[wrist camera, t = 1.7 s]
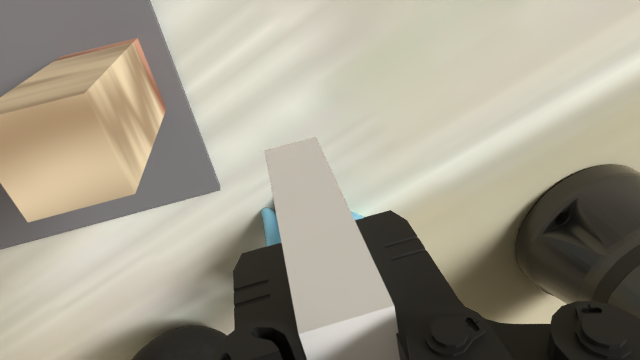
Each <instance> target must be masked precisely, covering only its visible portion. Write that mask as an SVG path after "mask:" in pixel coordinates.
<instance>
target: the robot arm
mask: <svg viewBox="0 0 640 360" xmlns="http://www.w3.org/2000/svg"><path fill="white" fill-rule="evenodd" d="M265 157H266V162H267V167H268V173H269V178H270V183H271V189H272V194H273V200H274V205H275V210H276V216H277V221H278V226H279V232H280V237H281V243H278V244H274V245H271V246H267V247H264V248H260V249H257V250H253V251H249V252H246V253H242V255H241V257H240V259H239V261H238V263H237V265H236V267H235V269H234V271H233V276H234V292H235V293H234V305H235V308H234V319H235V330H234V331H233V332H232V333H230V334H229V335H228V336H227V337H226V338H225V339H223V340H222V341H221V343H220V344H219V346H218V347H217V349H216V350H215V352H214V353H213V355H212V356H211V360H640V173H639V172H637V171H635V170H634V169H632V168H629V167H626V166H623V165H614V164H610V165H600V166H595V167H591V168H588V169H585V170H583V171H580V172H578V173H576V174H574V175H572V176H570V177H568V178H566V179H565V180H563V181H562V182H560V183H559V184H557V185H556V186H554V187H553V188H552V189H551V190H549V191H548V192H547V193H546V194H545V195H544V196H543V197H542V198H541V199H540V200H539V201H538V202H537V203H536V204H535V206H534V207H533V208H532V209H531V211H530V212H529V214H528V215H527V217H526V218H525V220H524V222H523V224H522V226H521V228H520V231H519V234H518V237H517V241H516V259H517V262H518V265H519V267H520V268H521V270H522V271H523V272H524V273H525V274H526V276H527V277H528V278H529V279H530V280H531V281H532V282H533V283H534V284H535V285H536V286H537V287H538V288H540V289H541V290H542V291H544V292H546V293H548V294H551V295H553V296H555V297H557V298H558V299H560V300H562V301H563V302H565V303H567V305H564V306H562V307H561V308H560V309H559V310H558V311H557V312H556V313H555V314H554V315H553V316H552V320H551V324H506V323H498V322H494V321H490V320H487V319H484V318H482V317H481V316H480V315H479V314H478V313H477V312H475V311H473V310H471V309H469V308H466V307H465V306H464V305H463V304H462V303H461V301H460V300H459V299H458V298H457V296H456V295H455V293H454V292H453V290H452V289H451V287H450V286H449V284H448V282H447V281H446V279H445V278H444V276H443V275H442V273H441V272H440V270H439V269H438V267H437V266H436V264H435V263H434V261H433V260H432V258H431V256H430V255H429V253H428V252H427V251H426V250H425V247H424V246H423V244H422V243H421V241H420V240H419V238H417V235H416V233H415V232H414V230H413V229H412V227H411V226H410V224H409V223H408V221H407V220H405V219H404V218H402V217H401V216H399V215H397V214H396V213H394V212H392V211H391V210H390V211H386V212H383V213H379V214H375V215H372V216H368V217H365V218H361V219H358V220H354V218H353V216H352V213H351V211H350V209H349V207H348V205H347V203H346V201H345V198H344V196H343V194H342V192H341V190H340V188H339V185H338V183H337V181H336V179H335V177H334V175H333V173H332V170H331V168H330V166H329V164H328V162H327V160H326V157H325V155H324V153H323V151H322V149H321V147H320V145H319V142H318V140H317V138H316V137H314V138H310V139H306V140H303V141H299V142H295V143H291V144H288V145H284V146H280V147H276V148H273V149H269V150H265Z"/></svg>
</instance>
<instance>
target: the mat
mask: <svg viewBox="0 0 640 360" xmlns="http://www.w3.org/2000/svg"><path fill="white" fill-rule="evenodd" d="M135 38H138V40H139V43H140V45H141V48H142V50H143V53H144V55H145V57H146V60H147V62H148V65H149V67H150V70H151V72H152V75H153V77H154V79H155V82H156V84H157V87H158V89H159V92H160V94H161V97H162V99H163V101H164V104H165V106H166V111H165V114H164V117H163V120H162V122H161V125H160V128H159V130H158V133H157V136H156V139H155V141H154V144H153V147H152V150H151V152H150V155H149V158H148V160H147V163H146V166H145V169H144V171H143V174H142V177H141V180H140V182H139V185H138V188H137V190H136V193H135V194H133V195H129V196H126V197H122V198H118V199H114V200H111V201H107V202H103V203H99V204H96V205H92V206H88V207H84V208H81V209H77V210H73V211H69V212H66V213H62V214H58V215H54V216H51V217H47V218H43V219H39V220H36V221H32V222H27V221H26V219H25V218H24V216H23V215H22V213H21V212H20V210H19V209H18V208H17V206H16V205H15V203H14V202H13V200H12V199H11V197H10V196H9V195H8V193H7V192H6V190H5V189H4V187H3V186H2V184H1V183H0V249H4V248H8V247H11V246H15V245H19V244H23V243H26V242H30V241H34V240H37V239H41V238H45V237H49V236H52V235H56V234H60V233H63V232H67V231H71V230H74V229H78V228H82V227H86V226H89V225H93V224H97V223H100V222H104V221H108V220H111V219H115V218H119V217H123V216H126V215H130V214H134V213H137V212H141V211H145V210H149V209H152V208H156V207H160V206H163V205H167V204H171V203H174V202H178V201H182V200H186V199H189V198H193V197H197V196H200V195H204V194H208V193H211V192H215V191H219V190H220V184H219V182H218V179H217V177H216V174H215V171H214V169H213V166H212V163H211V161H210V158H209V155H208V153H207V150H206V147H205V145H204V142H203V140H202V137H201V134H200V132H199V129H198V126H197V124H196V121H195V118H194V116H193V113H192V110H191V108H190V105H189V102H188V100H187V97H186V95H185V92H184V89H183V87H182V84H181V81H180V79H179V76H178V73H177V71H176V68H175V65H174V63H173V60H172V57H171V55H170V52H169V50H168V47H167V44H166V42H165V39H164V36H163V34H162V31H161V28H160V26H159V23H158V20H157V18H156V15H155V12H154V10H153V7H152V5H151V2H150V0H0V97H1V96H3V95H4V94H6V93H7V92H9V91H10V90H12V89H13V88H15V87H16V86H18V85H19V84H21V83H22V82H24V81H25V80H27V79H28V78H30V77H31V76H33V75H34V74H35V73H37V72H38V71H40V70H41V69H43V68H44V67H46V66H47V65H49V64H50V63H52V62H53V61H55V60H56V59H58V58H59V57H61V56H65V55H69V54H73V53H77V52H81V51H85V50H90V49H94V48H98V47H102V46H106V45H110V44H114V43H118V42H122V41H127V40H131V39H135Z"/></svg>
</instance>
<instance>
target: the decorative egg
mask: <svg viewBox="0 0 640 360" xmlns="http://www.w3.org/2000/svg"><path fill="white" fill-rule="evenodd" d="M226 337H227V335H225V334H224V333H222V332H220V331H218V330H215V329H212V328H208V327H203V326H186V327H181V328H177V329H174V330H171V331H168V332H166V333H164V334H162V335H160V336H158V337H157V338H155V339H154V340H152V341H151V342H149V343H148V344H147V345H146V346H145V347H143V348H142V349H141V350H140V351H139V352H138V353H137V354H136V355H135V356H134V358H133V359H132V360H211V356H212V355H213V353H214V352H215V350H216V349H217V347H218V346H219V344H220V343H221V341H222V340H223V339H225V338H226Z"/></svg>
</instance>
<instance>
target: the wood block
mask: <svg viewBox="0 0 640 360" xmlns="http://www.w3.org/2000/svg"><path fill="white" fill-rule="evenodd" d="M165 111H166V106H165V104H164V101H163V99H162V97H161V94H160V92H159V89H158V87H157V84H156V82H155V79H154V77H153V75H152V72H151V70H150V67H149V65H148V62H147V60H146V57H145V55H144V53H143V50H142V48H141V45H140V43H139V40H138V38H135V39H131V40H127V41H122V42H118V43H114V44H110V45H106V46H102V47H98V48H94V49H90V50H85V51H81V52H77V53H73V54H69V55H65V56H61V57H59V58H58V59H56V60H55V61H53V62H52V63H50V64H49V65H47V66H46V67H44V68H43V69H41V70H40V71H38V72H37V73H35V74H34V75H33V76H31V77H30V78H28V79H27V80H25V81H24V82H22V83H21V84H19V85H18V86H16V87H15V88H13V89H12V90H10V91H9V92H7V93H6V94H4V95H3V96H1V97H0V183H1V184H2V186H3V187H4V189H5V190H6V192H7V193H8V195H9V196H10V197H11V199H12V200H13V202H14V203H15V205H16V206H17V208H18V209H19V210H20V212H21V213H22V215H23V216H24V218H25V219H26V221H27V222H32V221H36V220H39V219H43V218H47V217H51V216H54V215H58V214H62V213H66V212H69V211H73V210H77V209H81V208H84V207H88V206H92V205H96V204H99V203H103V202H107V201H111V200H114V199H118V198H122V197H126V196H129V195H133V194H135V193H136V190H137V188H138V185H139V182H140V180H141V177H142V174H143V171H144V169H145V166H146V163H147V160H148V158H149V155H150V152H151V150H152V147H153V144H154V141H155V139H156V136H157V133H158V130H159V128H160V125H161V122H162V120H163V117H164V114H165Z"/></svg>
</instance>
